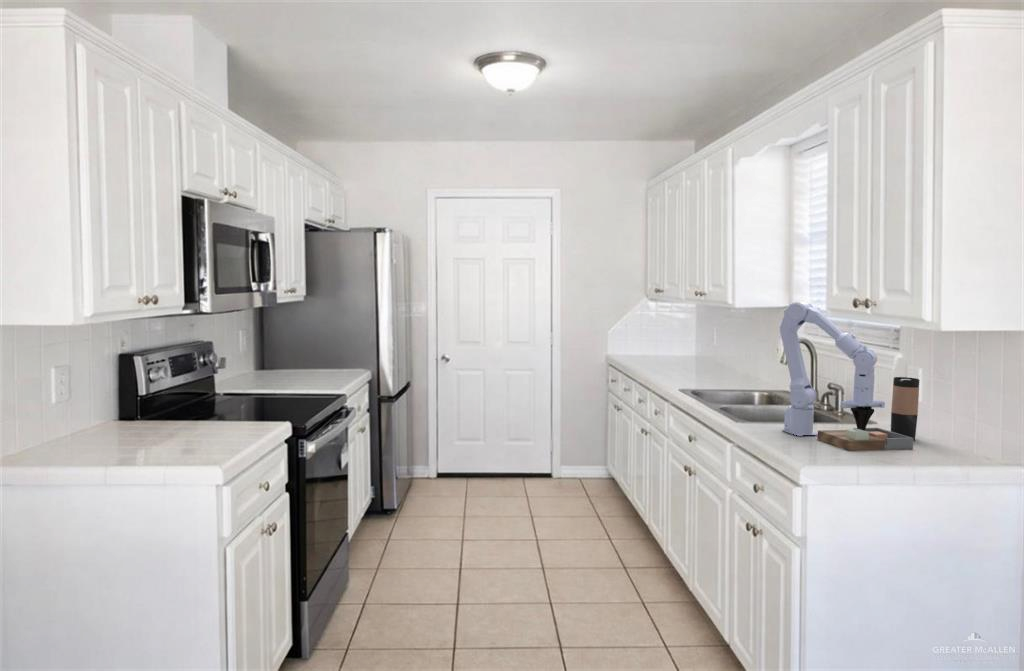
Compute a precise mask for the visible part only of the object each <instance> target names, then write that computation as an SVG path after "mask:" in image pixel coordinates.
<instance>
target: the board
mask: <svg viewBox="0 0 1024 671" xmlns="http://www.w3.org/2000/svg"><path fill="white" fill-rule="evenodd" d="M817 434H818V435H817V439H819V440H818V441H820V440H821V441H820V442H823V441H824V442H823V443H825V442H826V443H825V444H828V443H829V444H828V445H831V446H834V447H837V448H839V447H840V448H839V449H842V448H843V450H845V451H849V452H861V451H862V452H867V451H885V450H884V449H885V440H882V439H879V438H876V437H872V436H869V440H853V439H850V438H847V437H846V429H828V430H827V429H825V430H824V429H823V430H817Z"/></svg>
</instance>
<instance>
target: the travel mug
mask: <svg viewBox="0 0 1024 671" xmlns="http://www.w3.org/2000/svg"><path fill="white" fill-rule="evenodd" d="M892 383H893V384H892V397H891V398H892V399H891V412H890V413H891V414H890V431H891V432H894V433H898V434H901V435H905V436H908V437H912V438H914V440H913V442H914V441H916V435H917V433H916V432H917V425H918V424H917V423H918V416H919V415H918V412H919V399H920V398H919V396H920V395H919V393H920V379H919V378H916V377H914V378H913V377H907V376H895V377H893V382H892Z"/></svg>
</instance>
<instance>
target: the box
mask: <svg viewBox="0 0 1024 671" xmlns="http://www.w3.org/2000/svg"><path fill="white" fill-rule="evenodd" d="M852 429H857V427H853V428H852ZM865 431H867V432H873V431H879V432H882V433H885V434H888V438H886V440H885V449H884V450H883V451H897V450H900V451H901V450H914V441H913V440H914V438H912V437H908V436H905V435H901V434H898V433H894V432H891V430H887V429H884V428H881V427H866V429H865Z"/></svg>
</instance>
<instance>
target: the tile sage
mask: <svg viewBox="0 0 1024 671" xmlns="http://www.w3.org/2000/svg"><path fill="white" fill-rule="evenodd" d="M845 430H846V437H847V438H850V439H853V440H869V432H867V431H864V430H860V429H853V428H852V429H851V428H849V429H845Z"/></svg>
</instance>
